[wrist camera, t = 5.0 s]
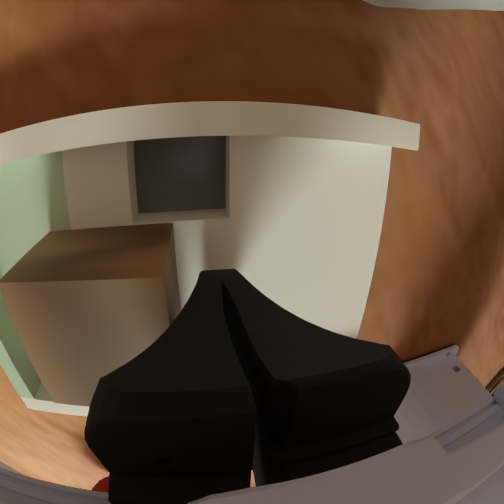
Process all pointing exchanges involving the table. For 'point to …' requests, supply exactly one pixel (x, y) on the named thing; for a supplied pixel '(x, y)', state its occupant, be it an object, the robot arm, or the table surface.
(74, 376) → the block
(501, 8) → the cup
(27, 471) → the table surface
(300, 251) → the tray
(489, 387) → the toy sandwich meal
